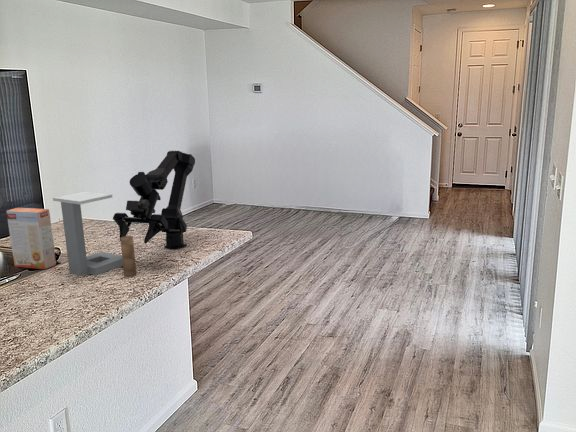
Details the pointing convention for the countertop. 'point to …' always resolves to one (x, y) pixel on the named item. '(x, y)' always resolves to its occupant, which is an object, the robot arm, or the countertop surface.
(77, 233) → the socket stand
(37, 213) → the cracker box
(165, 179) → the robot arm
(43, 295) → the countertop surface
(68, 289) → the countertop surface
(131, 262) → the walnut peg
